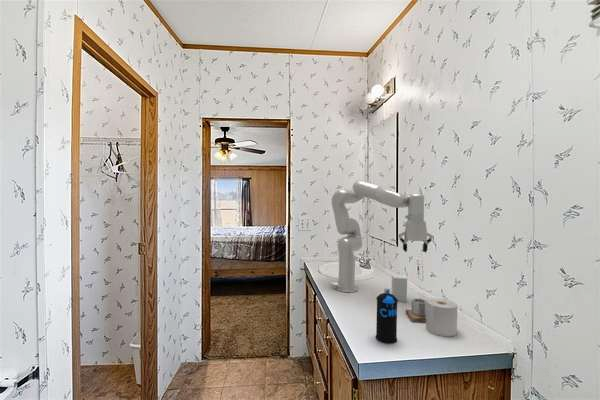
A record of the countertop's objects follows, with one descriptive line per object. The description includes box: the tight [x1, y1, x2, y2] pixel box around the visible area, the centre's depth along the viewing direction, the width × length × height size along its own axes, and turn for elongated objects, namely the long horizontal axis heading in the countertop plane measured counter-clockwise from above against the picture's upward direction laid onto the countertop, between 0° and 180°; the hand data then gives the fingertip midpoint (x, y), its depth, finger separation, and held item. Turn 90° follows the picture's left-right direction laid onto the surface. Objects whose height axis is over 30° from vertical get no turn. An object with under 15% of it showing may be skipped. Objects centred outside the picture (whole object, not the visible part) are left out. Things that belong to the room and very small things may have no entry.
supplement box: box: [390, 274, 408, 303], centre depth 166 cm, size 7×7×13 cm
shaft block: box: [405, 300, 426, 324], centre depth 141 cm, size 10×10×8 cm
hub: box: [410, 298, 427, 317], centre depth 141 cm, size 6×6×6 cm
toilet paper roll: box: [425, 297, 458, 337], centre depth 129 cm, size 12×12×12 cm
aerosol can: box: [375, 287, 399, 344], centre depth 120 cm, size 8×8×20 cm
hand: (415, 251), depth 155 cm, fingers open, 9 cm apart
